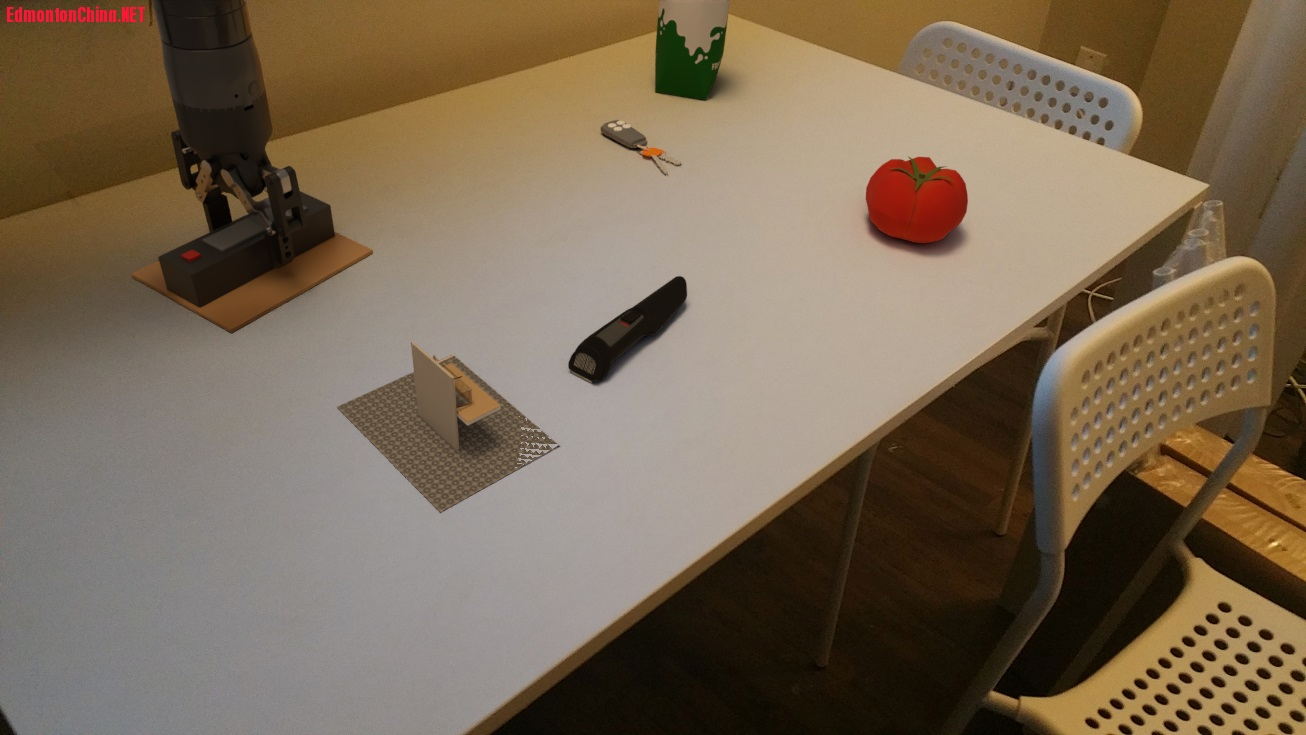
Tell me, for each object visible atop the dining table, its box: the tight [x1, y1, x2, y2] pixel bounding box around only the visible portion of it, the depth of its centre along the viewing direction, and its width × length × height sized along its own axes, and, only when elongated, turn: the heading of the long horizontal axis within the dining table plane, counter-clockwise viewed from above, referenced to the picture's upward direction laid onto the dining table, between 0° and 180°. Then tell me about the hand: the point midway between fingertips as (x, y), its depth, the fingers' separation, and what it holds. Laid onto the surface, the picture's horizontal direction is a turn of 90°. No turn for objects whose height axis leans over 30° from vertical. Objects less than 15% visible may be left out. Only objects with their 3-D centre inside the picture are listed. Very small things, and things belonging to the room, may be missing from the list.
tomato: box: [865, 156, 969, 244], centre depth 108 cm, size 11×11×8 cm
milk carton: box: [654, 0, 731, 101], centre depth 129 cm, size 9×9×20 cm
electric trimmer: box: [567, 275, 688, 384], centre depth 90 cm, size 4×16×3 cm, turn 145°
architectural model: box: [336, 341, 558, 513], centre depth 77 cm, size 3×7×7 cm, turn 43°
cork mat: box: [130, 231, 374, 334], centre depth 95 cm, size 14×17×1 cm
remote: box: [157, 190, 336, 308], centre depth 94 cm, size 16×5×4 cm, turn 147°
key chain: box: [600, 119, 683, 175], centre depth 119 cm, size 13×4×2 cm, turn 41°
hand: (252, 248), depth 94 cm, fingers open, 8 cm apart
